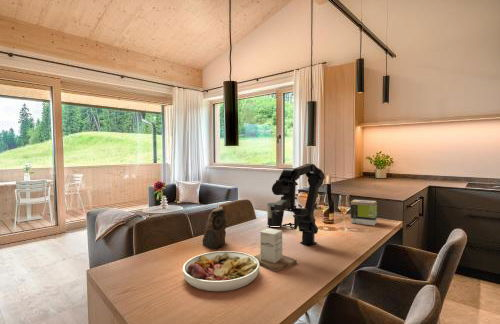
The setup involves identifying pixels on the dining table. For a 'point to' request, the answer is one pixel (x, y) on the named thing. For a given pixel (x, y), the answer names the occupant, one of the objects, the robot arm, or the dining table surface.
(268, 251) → the supplement box
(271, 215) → the milk frother
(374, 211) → the tea box
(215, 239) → the owl
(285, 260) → the walnut board
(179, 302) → the dining table surface
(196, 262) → the bowl
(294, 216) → the robot arm
